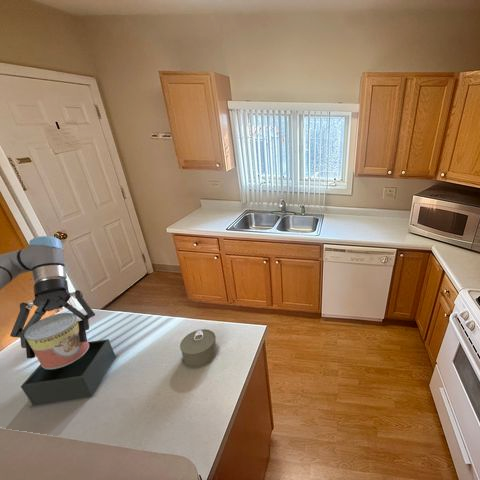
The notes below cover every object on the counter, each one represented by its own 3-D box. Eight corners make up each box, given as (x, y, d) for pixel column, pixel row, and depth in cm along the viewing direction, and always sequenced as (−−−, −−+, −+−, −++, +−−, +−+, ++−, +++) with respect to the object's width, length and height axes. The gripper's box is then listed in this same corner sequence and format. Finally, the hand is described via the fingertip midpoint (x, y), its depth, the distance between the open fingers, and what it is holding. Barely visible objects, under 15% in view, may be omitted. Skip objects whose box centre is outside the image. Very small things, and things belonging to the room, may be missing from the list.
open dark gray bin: (33, 405, 77) (20, 386, 74) (66, 363, 91) (57, 345, 87) (92, 396, 81) (82, 377, 77) (115, 356, 94) (108, 339, 91)
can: (181, 371, 90) (177, 357, 87) (185, 346, 100) (182, 332, 97) (217, 363, 94) (214, 349, 91) (218, 339, 104) (215, 326, 101)
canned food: (55, 374, 74) (38, 344, 70) (32, 362, 78) (14, 332, 73) (97, 346, 84) (85, 318, 79) (75, 336, 88) (62, 309, 83)
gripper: (100, 275, 92) (110, 334, 86) (4, 295, 79) (9, 366, 74) (93, 269, 85) (104, 333, 80) (-12, 290, 73) (-8, 367, 68)
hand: (58, 349), depth 77 cm, fingers closed on canned food, 11 cm apart
